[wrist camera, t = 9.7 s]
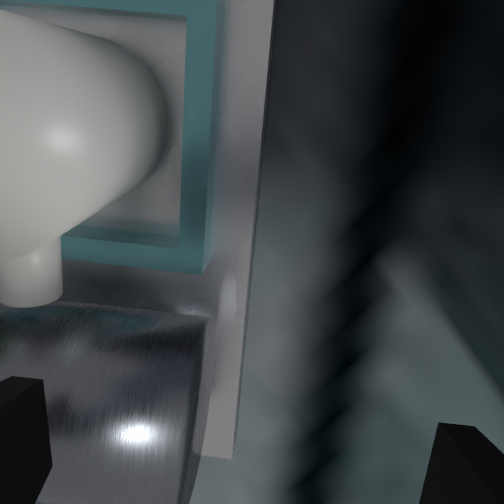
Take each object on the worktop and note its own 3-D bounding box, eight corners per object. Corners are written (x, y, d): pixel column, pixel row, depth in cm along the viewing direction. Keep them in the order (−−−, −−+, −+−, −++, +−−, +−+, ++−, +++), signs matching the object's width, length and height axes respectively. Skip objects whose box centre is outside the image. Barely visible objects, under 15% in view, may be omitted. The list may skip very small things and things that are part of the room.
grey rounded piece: (169, 43, 14) (85, 10, 8) (162, 254, 16) (92, 344, 10) (6, 26, 14) (-189, -18, 8) (21, 237, 16) (-124, 316, 10)
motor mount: (281, -46, 14) (264, -184, 7) (236, 433, 20) (203, 619, 13) (-96, -75, 15) (-461, -227, 8) (-29, 397, 21) (-196, 556, 14)
